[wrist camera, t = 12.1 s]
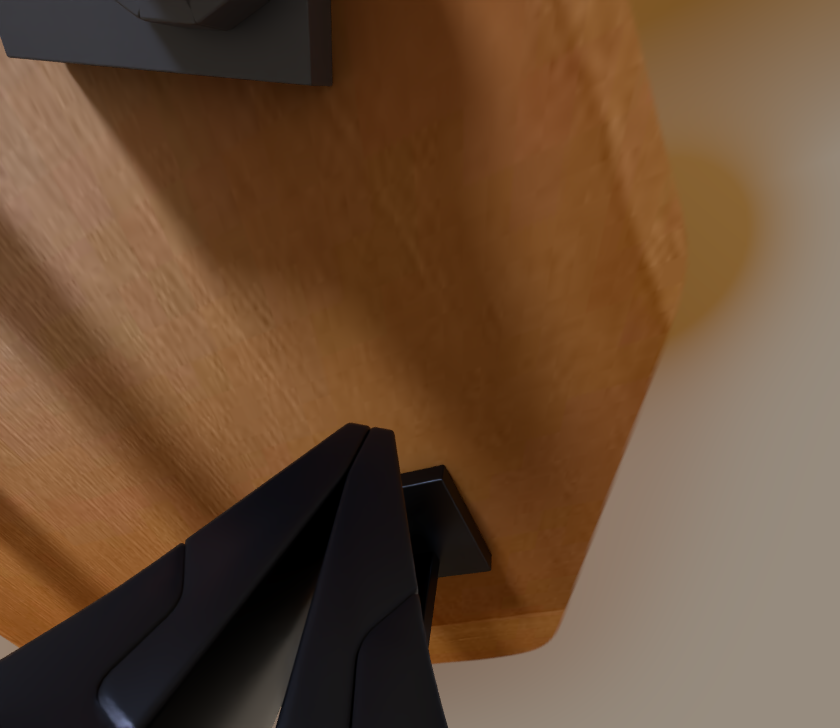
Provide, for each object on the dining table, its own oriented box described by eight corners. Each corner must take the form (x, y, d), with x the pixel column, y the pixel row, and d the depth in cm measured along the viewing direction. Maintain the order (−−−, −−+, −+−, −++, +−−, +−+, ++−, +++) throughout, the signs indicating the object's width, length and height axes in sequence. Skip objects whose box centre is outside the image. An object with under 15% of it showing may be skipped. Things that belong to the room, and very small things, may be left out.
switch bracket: (357, 573, 32) (299, 766, 23) (299, 495, 29) (203, 685, 19) (492, 554, 29) (486, 771, 20) (444, 463, 25) (411, 674, 16)
